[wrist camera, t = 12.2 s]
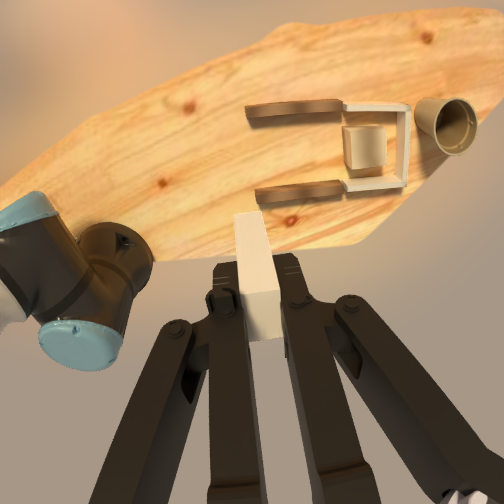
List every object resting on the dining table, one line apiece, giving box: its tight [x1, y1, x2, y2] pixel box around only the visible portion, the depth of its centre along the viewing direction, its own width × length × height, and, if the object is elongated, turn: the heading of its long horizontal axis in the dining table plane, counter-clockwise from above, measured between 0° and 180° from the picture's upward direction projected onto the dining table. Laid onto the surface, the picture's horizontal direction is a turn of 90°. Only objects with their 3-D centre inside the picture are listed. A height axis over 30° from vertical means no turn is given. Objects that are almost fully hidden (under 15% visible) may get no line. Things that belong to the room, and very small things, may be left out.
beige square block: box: [342, 124, 387, 170], centre depth 46 cm, size 6×6×4 cm
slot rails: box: [245, 99, 344, 204], centre depth 47 cm, size 14×15×2 cm
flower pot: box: [415, 97, 478, 156], centre depth 42 cm, size 9×9×9 cm
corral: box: [342, 102, 411, 192], centre depth 47 cm, size 11×14×3 cm
